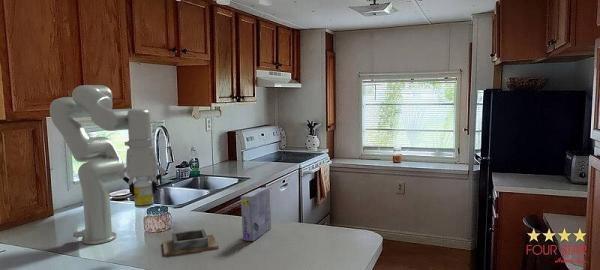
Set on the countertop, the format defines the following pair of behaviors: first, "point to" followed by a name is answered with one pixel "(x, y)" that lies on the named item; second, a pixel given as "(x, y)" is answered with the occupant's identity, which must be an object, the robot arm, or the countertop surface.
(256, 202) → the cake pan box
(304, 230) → the countertop surface
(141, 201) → the pill bottle
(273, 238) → the countertop surface
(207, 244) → the collar board
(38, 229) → the countertop surface
